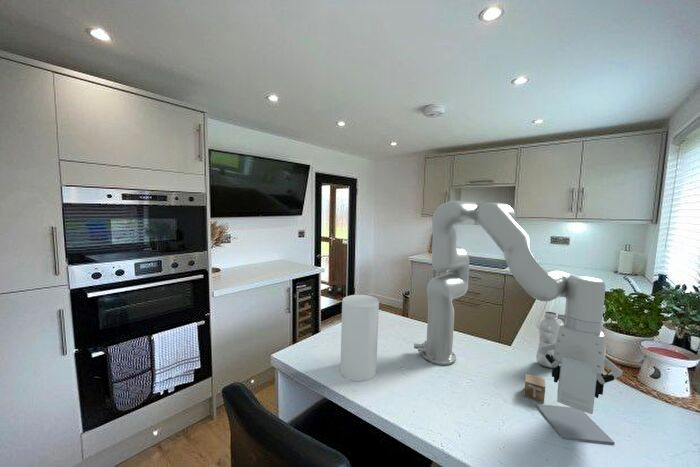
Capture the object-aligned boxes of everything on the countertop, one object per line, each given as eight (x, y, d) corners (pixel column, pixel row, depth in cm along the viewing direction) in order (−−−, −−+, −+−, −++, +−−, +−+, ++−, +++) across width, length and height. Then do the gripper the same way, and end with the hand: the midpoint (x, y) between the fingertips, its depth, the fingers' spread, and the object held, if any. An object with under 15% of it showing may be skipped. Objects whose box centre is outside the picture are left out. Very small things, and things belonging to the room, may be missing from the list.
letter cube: (524, 397, 86) (525, 381, 86) (524, 388, 91) (525, 373, 90) (543, 403, 83) (545, 387, 83) (543, 394, 88) (544, 378, 87)
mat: (562, 438, 70) (562, 436, 70) (535, 405, 82) (536, 404, 82) (614, 444, 69) (614, 442, 69) (580, 409, 81) (580, 408, 81)
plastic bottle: (561, 371, 101) (566, 317, 99) (540, 368, 102) (545, 315, 100) (552, 362, 107) (557, 311, 105) (532, 359, 108) (536, 309, 107)
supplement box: (593, 415, 70) (598, 367, 69) (556, 402, 75) (561, 357, 74) (591, 400, 76) (596, 355, 75) (557, 388, 81) (562, 346, 80)
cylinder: (353, 357, 106) (355, 292, 104) (382, 368, 99) (385, 299, 97) (332, 372, 96) (334, 300, 94) (363, 386, 89) (366, 309, 87)
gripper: (539, 317, 77) (534, 378, 78) (628, 339, 65) (620, 411, 66) (545, 311, 82) (540, 368, 84) (629, 330, 70) (621, 397, 71)
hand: (575, 387), depth 75 cm, fingers closed on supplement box, 8 cm apart
